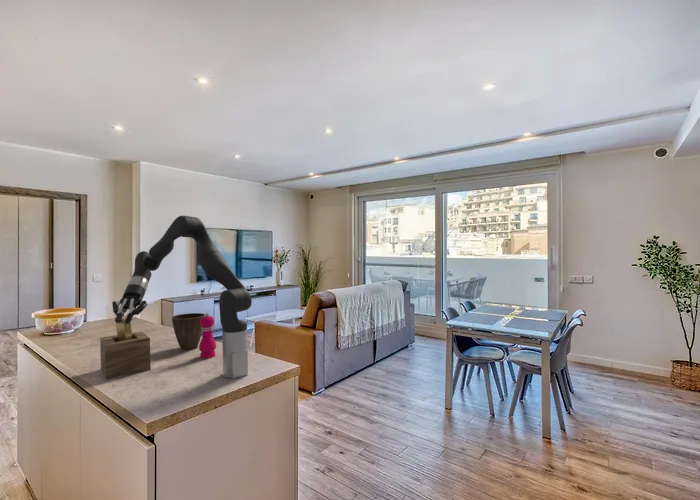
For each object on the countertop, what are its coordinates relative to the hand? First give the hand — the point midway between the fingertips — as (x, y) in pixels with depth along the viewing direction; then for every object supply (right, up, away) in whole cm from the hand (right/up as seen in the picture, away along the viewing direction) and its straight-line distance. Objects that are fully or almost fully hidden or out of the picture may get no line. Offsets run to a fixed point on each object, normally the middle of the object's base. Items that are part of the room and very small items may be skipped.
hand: (122, 322), depth 140 cm
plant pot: (+12, -19, +32) cm, 39 cm away
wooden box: (0, -20, +2) cm, 20 cm away
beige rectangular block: (0, -9, +3) cm, 10 cm away
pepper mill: (+27, -19, +18) cm, 38 cm away
